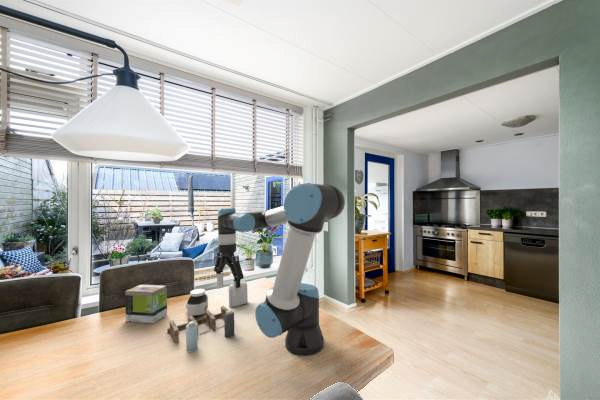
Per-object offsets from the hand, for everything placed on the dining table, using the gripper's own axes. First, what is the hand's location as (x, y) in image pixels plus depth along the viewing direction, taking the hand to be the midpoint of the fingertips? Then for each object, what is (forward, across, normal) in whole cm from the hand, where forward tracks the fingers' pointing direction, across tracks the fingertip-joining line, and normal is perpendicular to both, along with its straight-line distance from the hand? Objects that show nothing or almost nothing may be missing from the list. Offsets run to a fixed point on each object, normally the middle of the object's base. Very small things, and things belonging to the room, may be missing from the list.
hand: (228, 291), depth 110 cm
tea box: (+16, +40, +21) cm, 48 cm away
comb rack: (+16, +11, +8) cm, 21 cm away
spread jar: (+17, +26, +3) cm, 31 cm away
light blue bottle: (+17, -2, +17) cm, 24 cm away
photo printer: (+17, +19, -17) cm, 30 cm away
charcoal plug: (+17, -4, +2) cm, 17 cm away
